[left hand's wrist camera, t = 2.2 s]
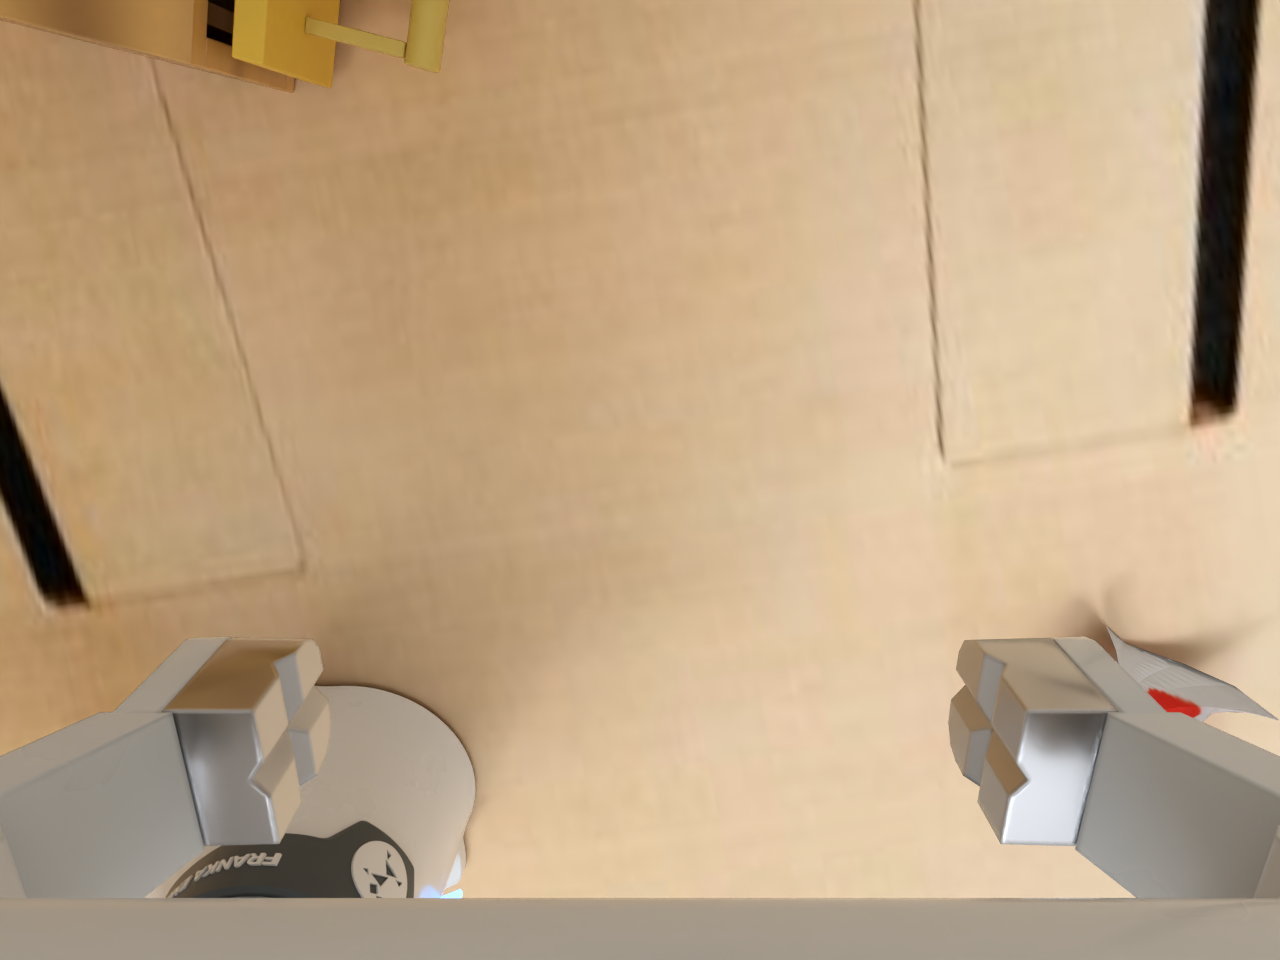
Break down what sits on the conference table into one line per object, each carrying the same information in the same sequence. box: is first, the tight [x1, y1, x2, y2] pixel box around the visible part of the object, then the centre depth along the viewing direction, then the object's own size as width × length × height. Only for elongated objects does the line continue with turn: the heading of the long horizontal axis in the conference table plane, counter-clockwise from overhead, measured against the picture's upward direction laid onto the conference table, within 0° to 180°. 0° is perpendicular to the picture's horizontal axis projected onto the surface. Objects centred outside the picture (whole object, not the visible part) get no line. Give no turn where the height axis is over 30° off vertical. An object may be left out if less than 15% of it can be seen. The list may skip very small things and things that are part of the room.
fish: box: [1103, 620, 1278, 722], centre depth 46 cm, size 11×16×10 cm
